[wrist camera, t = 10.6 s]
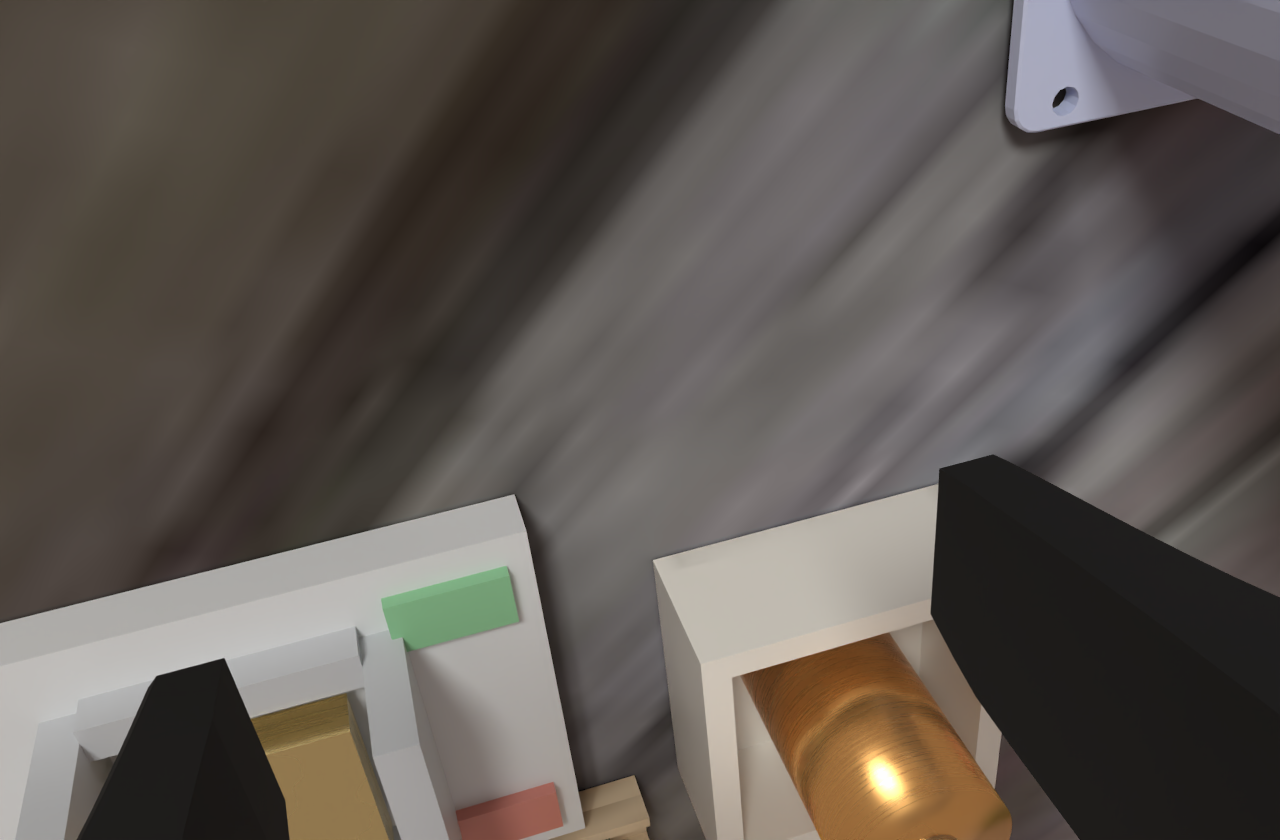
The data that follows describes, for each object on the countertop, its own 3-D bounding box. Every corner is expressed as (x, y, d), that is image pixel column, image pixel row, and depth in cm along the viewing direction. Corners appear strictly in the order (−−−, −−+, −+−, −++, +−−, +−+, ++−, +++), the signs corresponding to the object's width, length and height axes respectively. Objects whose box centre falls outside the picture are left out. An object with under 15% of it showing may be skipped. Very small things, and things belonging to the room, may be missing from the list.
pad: (346, 693, 22) (350, 731, 21) (392, 822, 24) (396, 862, 23) (131, 752, 21) (125, 794, 20) (198, 880, 24) (196, 922, 23)
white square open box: (943, 482, 26) (1021, 572, 23) (929, 691, 29) (994, 789, 27) (652, 560, 24) (700, 664, 22) (677, 767, 28) (720, 876, 26)
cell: (820, 557, 25) (969, 785, 20) (898, 625, 27) (1052, 849, 22) (706, 654, 26) (821, 900, 21) (789, 714, 28) (914, 952, 22)
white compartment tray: (514, 494, 22) (562, 638, 19) (573, 787, 28) (619, 943, 24) (-144, 659, 20) (-222, 854, 17) (51, 944, 25) (21, 1138, 22)
